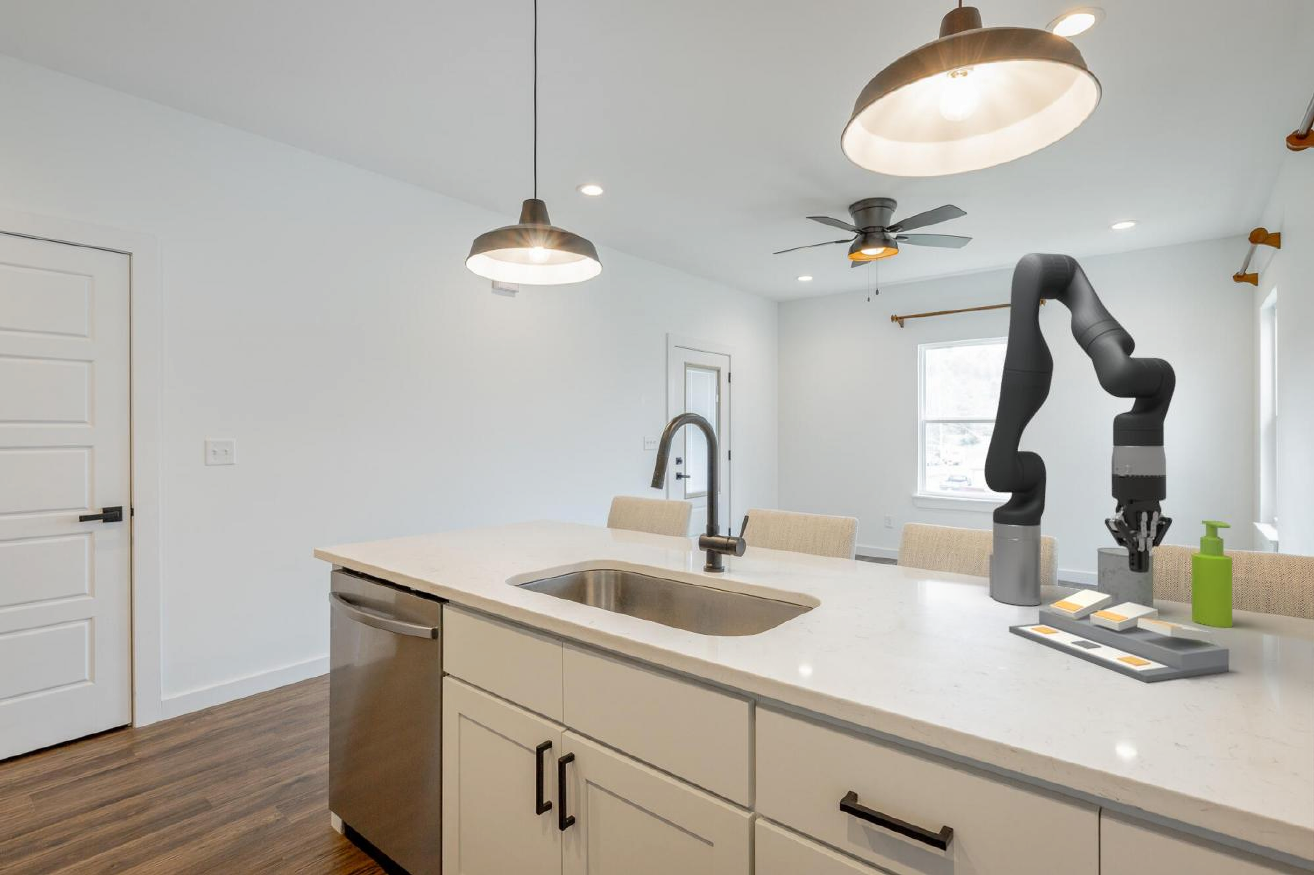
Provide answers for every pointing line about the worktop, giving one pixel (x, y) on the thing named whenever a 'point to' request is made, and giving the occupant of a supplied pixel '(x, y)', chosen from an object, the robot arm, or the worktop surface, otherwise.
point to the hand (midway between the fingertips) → (1138, 571)
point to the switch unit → (1127, 648)
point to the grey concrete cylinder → (1123, 578)
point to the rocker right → (1174, 629)
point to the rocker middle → (1123, 616)
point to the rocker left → (1081, 604)
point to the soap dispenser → (1212, 580)
